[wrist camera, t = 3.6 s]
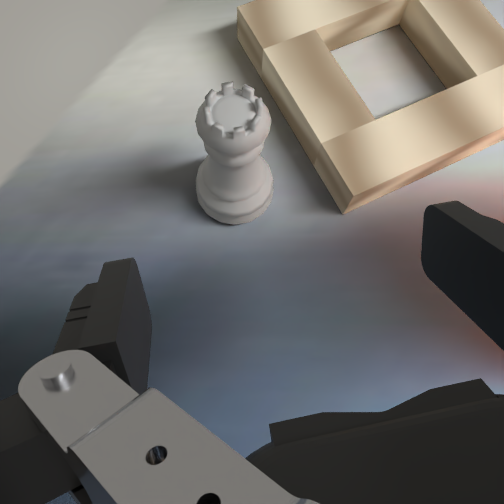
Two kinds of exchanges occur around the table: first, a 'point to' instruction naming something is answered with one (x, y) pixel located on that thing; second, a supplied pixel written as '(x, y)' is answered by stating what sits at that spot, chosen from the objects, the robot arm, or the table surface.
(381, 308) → the table surface
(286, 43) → the wooden square ring
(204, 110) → the rook chess piece
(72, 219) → the table surface
